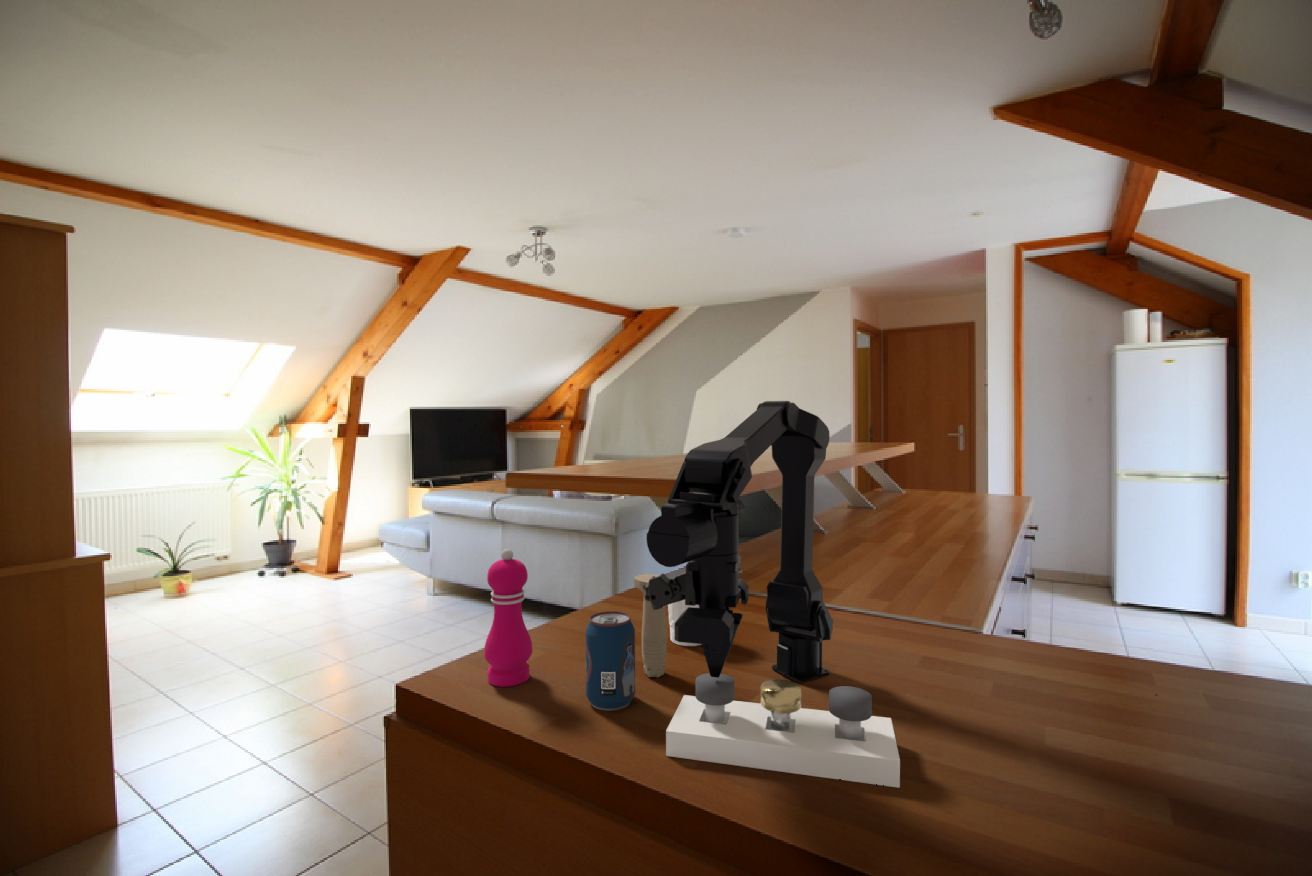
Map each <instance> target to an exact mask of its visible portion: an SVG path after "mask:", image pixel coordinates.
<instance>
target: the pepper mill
mask: <svg viewBox="0 0 1312 876" xmlns="http://www.w3.org/2000/svg"><path fill="white" fill-rule="evenodd" d="M486 578H487V583H488V586H489V587H490V588H491V589H492V591H491V592H490V595H491V599H490V602H491V603H492V604H493V620H492V622H491V623H492V624H491V627H490V630H489V632H488V635H487V636H486V639H485V642H484V647H483V648H484V650H483V656H484V660H486V662H487V663H488V664H489V665H490V666H488V668H487V682H488V683H489V684H490V685H493V686H494V687H501V688H504V687H505V688H507V687H514V686H519V685H521V684H523V683H525V682H527V681H528V680H529V679H530V677H531V676H530V674H531V673H530V671H531V670H530V664H529V663H528V661H529V659H530V658H531V657H532V655H533V642H532V638H531V635H530V633H529V631H528V629H527V627H526V624H525V622H524V618H523V610H522V606H523V605H522V603H523V601H524V600H525V590H524V589H523V587H524V586H525V585H526V584H527V581H528V570H527V567H526V565H525V564H524V563H523V562H522V561H521V560H518V559H516V558H515V559H514V552H513V551H512V550H511V549H509V548H505V549H503V550H502V552H501V559H499V560H496V561H495V562H494V563H492V564H491V565H490V567H489V569H488V571H487V577H486ZM518 684H519V685H518Z"/></svg>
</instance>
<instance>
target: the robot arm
mask: <svg viewBox="0 0 1312 876" xmlns="http://www.w3.org/2000/svg"><path fill="white" fill-rule="evenodd" d="M830 439H831V438H830V430H829V427H828V426H827V424H826V423H824V421H823V420H822V419H821V418H820V417H819V416H818V415H816V414H813V413H812V412H809V411H806V410H805V409H802V408H800V407H799V406H798V405H797V404H796V403H794V402H791V401H789V400H766V401H763V402H761V403H759V404H758V405H757V407H756V410H755V411H754V412H752V413H751V414H750V415H749V416H748V417H747V418H745V420H743V421H742V422H741V423H740V424H738V425H737V427H735V428H733V430H732V431H730V432H729V433H728V434H727V435H726V436H725V437H723V438H720V439H718V440H717V439H716V440H713V441H707V442H704V443H701V444H700V445H698V446H696V447H693V448H691V449H690V450H689V451H688V453H686V455H685V457H684V460H683V462H682V464H681V467H680V470H679V471H678V474H677V477H676V479H675V481H674V484H673V487H672V489H671V492H670V495H669V497H668V499H667V503H664V504H662V505H661V506H660V507H661V508H660V511H661V512H660V513H661V514H660V515H659V516H658V517H656V518H655V519H654V520H652V522H651V523H650V525H649V528H648V531H647V533H646V546H647V549H648V551H649V553H650V555H651V557H652V558H653V559H654V561H655V562H656V563H658V564H659V565H661V566H663V567H667V568H673V567H677V566H680V565H684V564H685V567H684V568H679V569H677V570H673V571H670V572H669V571H668V572H666V573H661V574H659V575H660V576H657V577H655V576H653V577H652V578H651V579H650V580H649V582H648V583H647V584H646V585H645V591H646V595H645V599H646V600H647V601H650V602H651V604H652V607H653V610H657V609H661V608H662V607H663V606H665V607H666V606H668V605H669V604H672V603H675V602H679V601H682V600H684V599H685V605H691V606H695V605H699V608H692V607H688V608H687V609H686V610H685V611H684V612H683V613H682V614H681V615H680V617H679V618H678V619H677V621H676V622H675V640H676V641H678V642H685V643H696V644H702V645H701V647H702V649H703V654H704V657H705V662H706V665H707V668H708V673H710V676H711V677H717V678H718V677H719V676H720V674H722V671H723V668H724V666H725V663H726V661H727V658H728V655H729V653H730V650H731V647H732V645H733V642H734V639H735V637H736V635H737V632H738V629H739V626H740V624H741V621H742V619H743V614H742V613H740V612H734V611H733V610H732V608H736V607H737V605H738V603H739V601H740V603H741V605H747V603H748V601H749V597H750V596H749V595H750V594H749V584H747V582H746V581H745V580H744V579H743V578H739V568H740V566H741V565H742V556H741V555H739V512H742V511H745V509H746V505H745V504H744V502H743V501H742V500H741V499H740V496H741V494H742V492H743V491H744V490H745V489H746V487H747V486H748V484H749V483H750V481H751V479H752V478H753V474H752V468H751V467H752V466H753V465H754V463H755V461H756V460H758V459H759V458H760V457H761V456H762V455H763V454H764V453H765V452H766V450H768V449H769V448H770V447H771V457H772V459H773V461H774V462H773V463H775V465H776V467H777V468H778V471H779V472H780V474H781V479H782V480H781V517H780V519H781V520H780V521H781V523H780V525H781V527H780V555H779V556H780V559H779V560H780V561H779V563H780V565H779V571H778V572H777V573H776V575H775V576H774V578H773V580H771V581H769V582H768V583H767V586H766V593H767V594H766V595H767V596H766V600H765V613H766V618H767V625H768V628H769V629H768V630H769V632H770V633H778V643H777V644H776V664H772V665H771V670H772V671H775V672H778V673H779V674H781V675H783V676H785V677H786V678H788V679H791V680H793V681H795V683H796V682H797V683H804V682H808V681H811V680H813V679H814V680H815V679H818V678H822V677H825V676H828V675H830V670H828V669H827V668H824V667H823V642H824V641H830V640H832V633H833V630H834V629H833V628H834V627H833V626H834V625H833V624H834V620H833V618H832V615H831V614H830V612H829V610H828V608H827V606H826V604H825V602H824V593H823V592H824V591H823V590H824V589H823V587H822V584H821V583H820V581H819V580H818V577H817V575H816V574H815V572H814V570H813V552H814V551H813V549H814V548H813V547H814V546H813V545H814V511H815V510H814V507H815V505H814V504H815V503H814V501H815V476H816V474H817V473H818V471H819V469H820V468H821V467H822V465H823V464H824V462H825V461H826V456H827V448H828V446H829V443H830Z"/></svg>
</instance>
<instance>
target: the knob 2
mask: <svg viewBox="0 0 1312 876" xmlns="http://www.w3.org/2000/svg"><path fill="white" fill-rule="evenodd" d="M828 691H829V692H828V711H830V713H831V714H832V715H834V716H835V717H837V718H839V734H840V735H841V736H842V737H844V738H847V739H858V738H860V737H861V721H865V720H868V719H869V718H871V716H873V715H872V714H873V713H872V712H873V709H872V708H873V706H872V705H873V696H872V694H871V693H869V691H866V690H864V689H863V688H860V687H855V686H848V685H847V686H845V685H841V686H835V687H832V688H831V689H829V690H828Z"/></svg>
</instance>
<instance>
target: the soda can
mask: <svg viewBox="0 0 1312 876" xmlns="http://www.w3.org/2000/svg"><path fill="white" fill-rule="evenodd" d="M634 626H635V625H634V624H633V622H632V619H631V616H630V615H629V613H627V612H622V611H613V610H612V611H611V610H610V611H601V612H597V613H593V614H591V615H590V616H589V622H588V624H587V626H586V628H585V695H586V698H587V700H588V701H589V703H590V704H591V706H592V707H593V708H595V709H597V710H602V711H606V712H607V711H618V710H622V709H624V708H626V707H628V706H629V705H630V704H631V702H632V700H633V699H634V696H635V695H636V630H635V627H634Z"/></svg>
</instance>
